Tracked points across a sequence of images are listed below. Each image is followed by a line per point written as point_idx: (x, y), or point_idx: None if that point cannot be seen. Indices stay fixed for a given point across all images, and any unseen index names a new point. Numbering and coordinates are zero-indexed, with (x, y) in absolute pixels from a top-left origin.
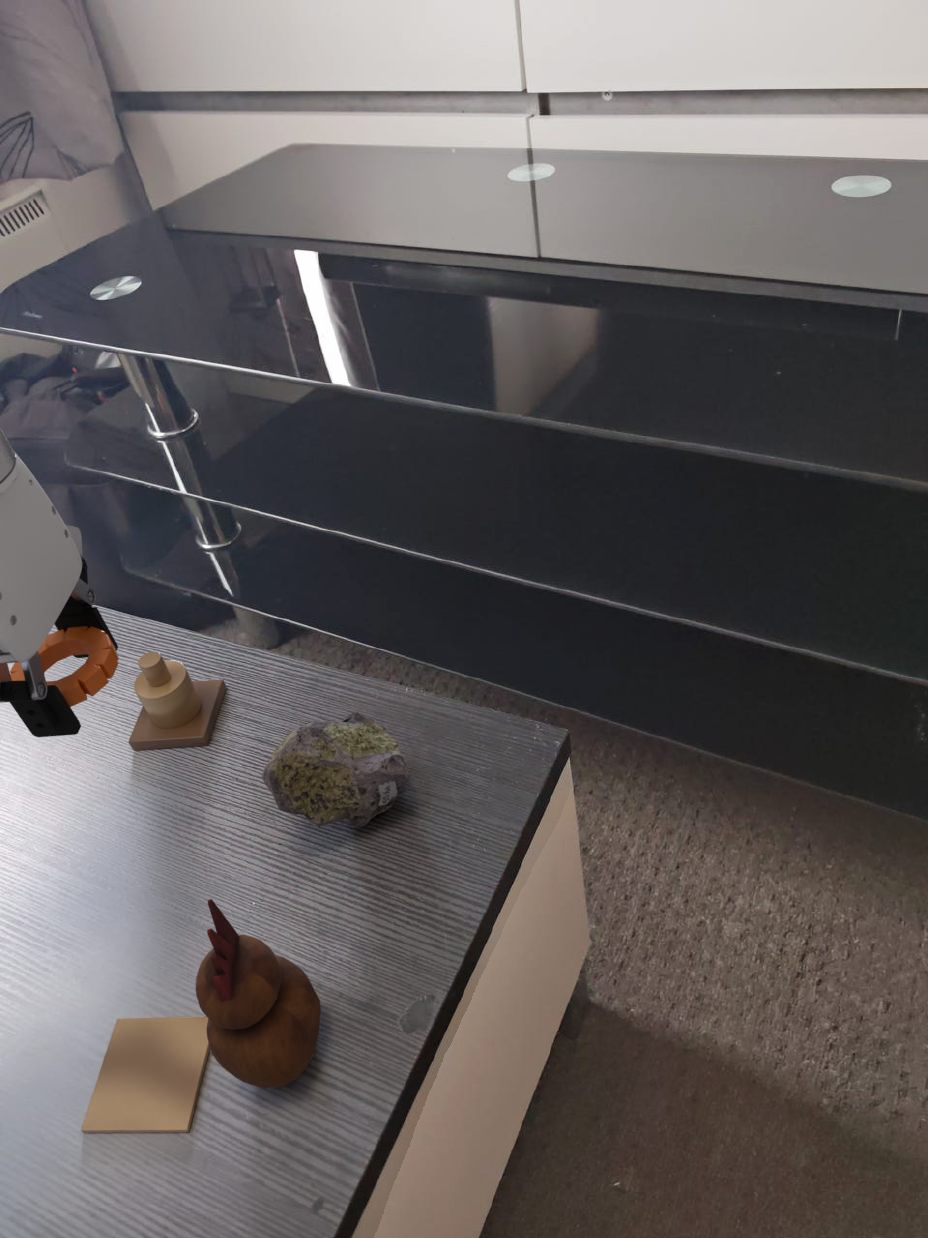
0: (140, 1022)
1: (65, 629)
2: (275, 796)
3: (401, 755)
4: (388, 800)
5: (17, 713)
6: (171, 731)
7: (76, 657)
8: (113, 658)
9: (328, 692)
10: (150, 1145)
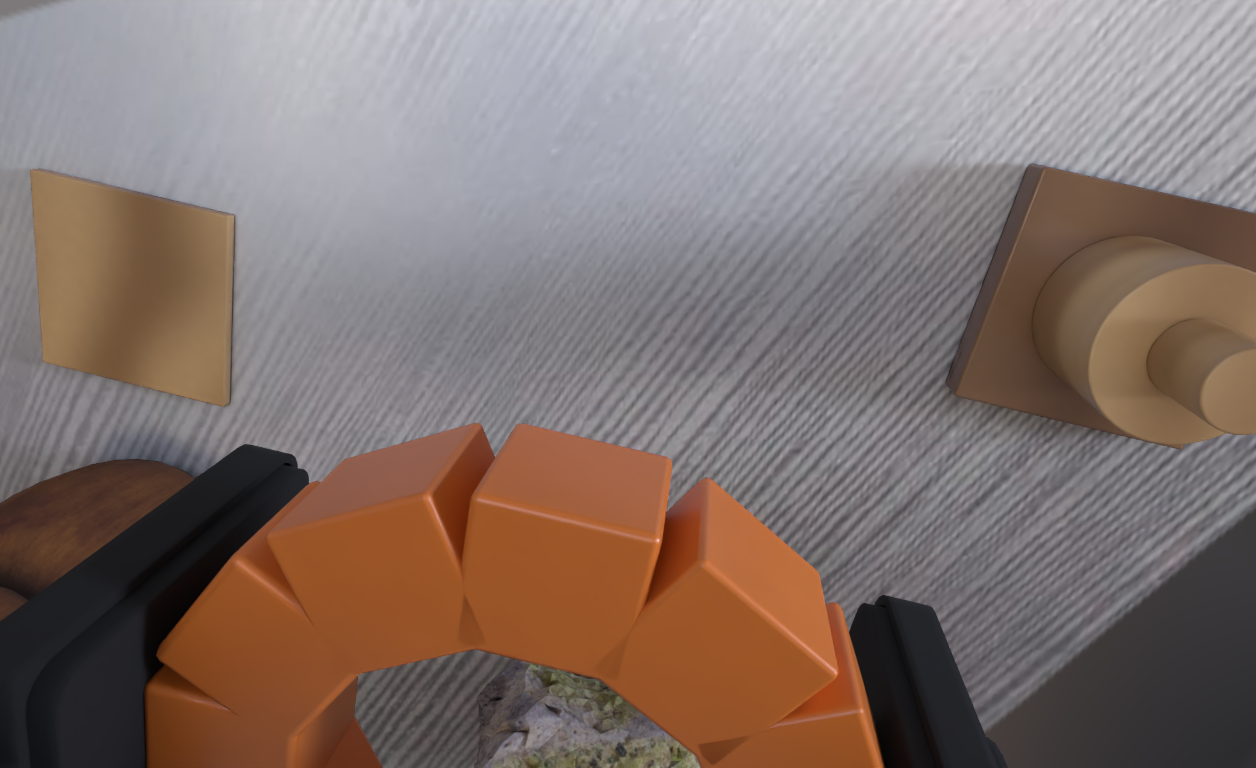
0: (218, 266)
1: None
2: (492, 707)
3: None
4: None
5: (116, 536)
6: (1023, 303)
7: (862, 606)
8: None
9: (996, 667)
10: (30, 294)
